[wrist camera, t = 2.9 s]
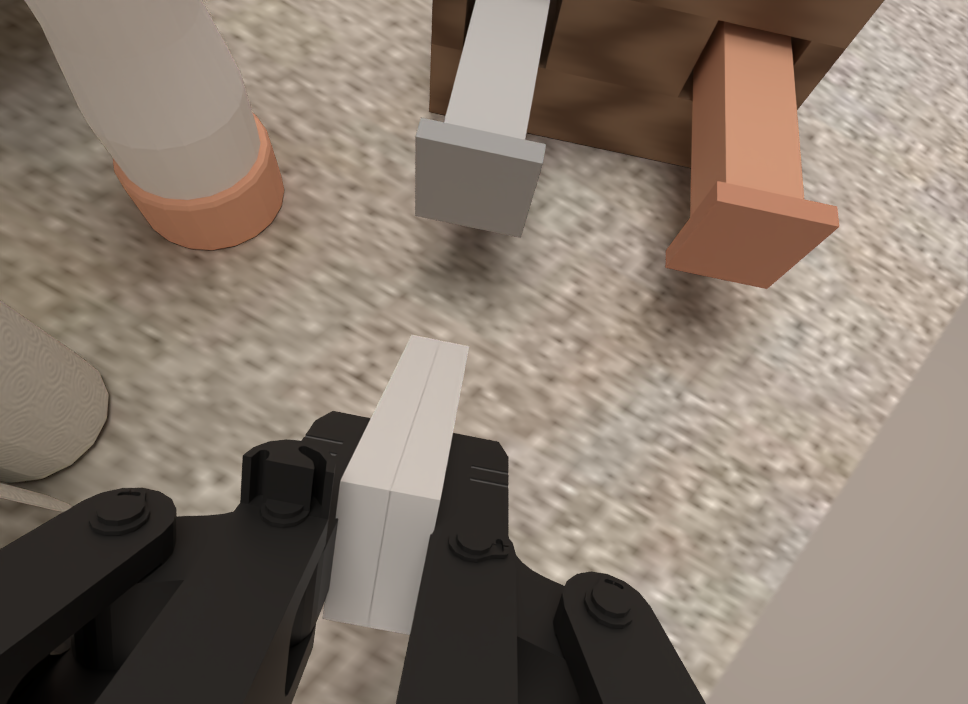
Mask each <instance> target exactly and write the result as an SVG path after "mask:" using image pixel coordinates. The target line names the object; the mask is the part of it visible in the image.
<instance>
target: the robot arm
mask: <svg viewBox="0 0 968 704" xmlns="http://www.w3.org/2000/svg"><path fill="white" fill-rule="evenodd" d="M468 350H469V346H465V345H461V344H456V343H451V342H446V341H441V340H436V339H431V338H426V337H421V336H416V335H411V337H410V339H409V341H408V343H407V345H406V347H405V349H404V351H403V353H402V356H401V358H400V360H399V362H398V364H397V366H396V368H395V370H394V372H393V374H392V376H391V378H390V380H389V382H388V384H387V386H386V388H385V390H384V392H383V394H382V397H381V399H380V401H379V403H378V405H377V407H376V409H375V411H374V413H373V415H372V417H371V418H366V417H361V416H356V415H351V414H346V413H341V412H336V411H332V412H330V413H328V414H326V415H325V416H323V417H321V418H319V419H317V420H316V421H315V422H314V423H313V425H312V426H311V428H310V429H309V430H308V432H307V433H306V436H305V437H304V438H303V439H302V441H297V440H279V441H270V442H267V443H264V444H261V445H258V446H255V447H253V448H252V449H251V450H249V451H248V452H247V453H245V454H244V455H243V463H242V481H241V500H240V504H239V505H238V507H237V508H236V509H235V511H234V512H230V513H226V514H218V515H208V516H178V517H176V507H175V505H174V503H173V501H172V499H171V498H169V497H168V496H166V495H164V494H163V493H161V492H159V491H155V490H150V489H146V488H121V489H117V490H112V491H107V492H103V493H100V494H97V495H95V496H93V497H91V498H88V499H86V500H84V501H82V502H80V503H78V504H76V505H75V506H73V507H71V508H70V509H68V510H66V511H65V512H63V513H61V514H59V515H58V516H56V517H54V518H53V519H51V520H49V521H48V522H46V523H44V524H42V525H41V526H39V527H37V528H36V529H34V530H32V531H31V532H29V533H27V534H26V535H24V536H22V537H20V538H19V539H17V540H15V541H14V542H12V543H10V544H9V545H7V546H5V547H3V548H2V549H0V704H292V701H293V698H294V696H295V693H296V690H297V688H298V685H299V683H300V680H301V677H302V675H303V672H304V669H305V667H306V664H307V661H308V659H309V656H310V654H311V651H312V648H313V642H314V635H315V627H316V622H317V619H318V617H319V614H320V612H321V609H322V607H323V604H324V601H325V604H324V612H323V619H326V620H332V621H337V622H342V623H348V624H353V625H359V626H364V627H369V628H375V629H380V630H386V631H391V632H396V633H402V634H407V635H410V637H409V642H408V647H407V652H406V656H405V661H404V666H403V671H402V676H401V681H400V686H399V691H398V695H397V701H396V704H706V703H705V701H704V700H703V698H702V696H701V694H700V693H699V691H698V689H697V687H696V686H695V684H694V682H693V680H692V679H691V677H690V675H689V673H688V672H687V670H686V668H685V666H684V665H683V663H682V661H681V659H680V658H679V656H678V654H677V652H676V650H675V649H674V647H673V645H672V643H671V642H670V640H669V638H668V636H667V635H666V633H665V631H664V629H663V628H662V626H661V624H660V622H659V621H658V619H657V617H656V615H655V614H654V612H653V610H652V608H651V607H650V605H649V604H648V603H647V602H646V600H645V599H644V598H643V597H642V595H641V594H640V593H639V592H638V591H637V590H635V589H634V588H633V587H631V586H630V585H629V584H627V583H626V582H624V581H622V580H620V579H618V578H615V577H613V576H611V575H608V574H603V573H597V572H586V573H580V574H576V575H575V576H573V577H572V578H570V579H569V580H568V581H567V582H566V584H565V586H563V585H561V584H559V583H557V582H554V581H552V580H550V579H548V578H545V577H543V576H542V575H540V574H538V573H536V572H534V571H533V570H531V569H530V568H529V567H527V566H526V565H525V564H524V563H522V562H521V560H520V559H519V558H518V557H517V556H516V553H515V550H514V546H513V543H512V542H511V540H510V539H509V536H508V456H507V454H506V452H505V451H504V449H503V448H502V446H501V445H500V443H499V442H497V441H492V440H486V439H481V438H476V437H471V436H466V435H461V434H456V433H453V430H454V424H455V419H456V414H457V408H458V403H459V398H460V392H461V387H462V382H463V376H464V371H465V366H466V360H467V355H468Z"/></svg>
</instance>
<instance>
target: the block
mask: <svg viewBox="0 0 968 704" xmlns="http://www.w3.org/2000/svg"><path fill="white" fill-rule="evenodd" d="M883 1H884V0H550V4H549V9H548V15H547V20H546V26H545V32H544V37H543V43H542V48H541V54H540V59H539V65H538V71H537V76H536V82H535V87H534V93H533V99H532V104H531V110H530V115H529V121H528V126H527V132H526V133H531V134H536V135H540V136H545V137H549V138H554V139H559V140H563V141H568V142H573V143H577V144H582V145H587V146H591V147H596V148H601V149H605V150H610V151H615V152H619V153H624V154H629V155H633V156H638V157H643V158H647V159H652V160H657V161H661V162H666V163H671V164H675V165H680V166H685V167H689V168H691V154H692V106H693V67H694V65H695V64H696V62H697V60H698V58H699V56H700V54H701V52H702V50H703V49H704V47H705V45H706V43H707V41H708V39H709V37H710V35H711V34H712V32H713V30H714V28H715V26H716V24H717V22H718V20H720V21H725V22H729V23H734V24H738V25H743V26H747V27H751V28H756V29H760V30H765V31H769V32H774V33H778V34H783V35H787V36H791V44H792V56H793V68H794V81H795V93H796V105H797V110H798V108H799V107H800V106H801V105H802V103H803V102H804V101H805V100H806V98H807V97H808V96H809V94H810V93H811V92H812V91H813V89H814V88H815V87H816V86H817V84H818V83H819V82H820V81H821V79H822V78H823V77H824V76H825V74H826V73H827V72H828V71H829V69H830V68H831V67H832V66H833V64H834V63H835V62H836V61H837V59H838V58H839V57H840V55H841V54H842V53H843V52H844V50H845V49H846V48H847V47H848V45H849V44H850V43H851V42H852V40H853V39H854V38H855V37H856V35H857V34H858V33H859V32H860V30H861V29H862V28H863V27H864V25H865V24H866V23H867V21H868V20H869V19H870V18H871V16H872V15H873V14H874V13H875V11H876V10H877V9H878V8H879V6H880V5H881V4H882V3H883ZM475 2H476V0H433V6H432V38H431V71H430V103H429V112H433V113H438V114H442V115H446V113H447V109H448V105H449V101H450V98H451V94H452V90H453V86H454V82H455V78H456V75H457V71H458V67H459V63H460V59H461V55H462V52H463V48H464V44H465V40H466V36H467V32H468V28H469V25H470V21H471V17H472V13H473V9H474V5H475Z"/></svg>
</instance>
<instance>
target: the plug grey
mask: <svg viewBox="0 0 968 704" xmlns="http://www.w3.org/2000/svg"><path fill="white" fill-rule="evenodd" d="M549 4H550V0H476V2H475V5H474V9H473V13H472V17H471V21H470V25H469V28H468V32H467V36H466V40H465V44H464V48H463V52H462V55H461V59H460V63H459V67H458V71H457V75H456V78H455V82H454V86H453V90H452V94H451V98H450V101H449V105H448V109H447V113H446V117H445V121H444V122H440V121H435V120H431V119H426V118H421V119H420V123H419V126H418V130H417V133H416V159H415V216H418V217H423V218H428V219H433V220H438V221H442V222H447V223H452V224H457V225H462V226H466V227H471V228H476V229H481V230H486V231H491V232H495V233H500V234H505V235H510V236H515V237H519V238H521V235H522V231H523V228H524V225H525V221H526V218H527V215H528V211H529V208H530V205H531V201H532V198H533V195H534V191H535V188H536V185H537V181H538V178H539V175H540V171H541V168H542V165H543V159H544V153H545V147H546V144H543V143H538V142H533V141H529V140H525V138H526V132H527V126H528V121H529V115H530V110H531V104H532V99H533V93H534V87H535V82H536V76H537V71H538V65H539V59H540V54H541V48H542V43H543V37H544V32H545V26H546V20H547V15H548V9H549Z"/></svg>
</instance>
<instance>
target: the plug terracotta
mask: <svg viewBox="0 0 968 704" xmlns="http://www.w3.org/2000/svg"><path fill="white" fill-rule="evenodd" d="M838 227H839V219H838V210H837V206H832V205H827V204H823V203H818V202H813V201H809V200H804V191H803V179H802V166H801V154H800V142H799V130H798V117H797V105H796V93H795V81H794V68H793V56H792V44H791V36H787V35H783V34H778V33H774V32H769V31H765V30H760V29H756V28H751V27H747V26H743V25H738V24H734V23H729V22H725V21H720V20H718V22H717V24H716V26H715V28H714V30H713V32H712V34H711V35H710V37H709V39H708V41H707V43H706V45H705V47H704V49H703V50H702V52H701V54H700V56H699V58H698V60H697V62H696V64H695V65H694V67H693V106H692V154H691V202H690V218H689V220H688V221H687V223H686V224H685V225H684V227H683V228H682V229H681V231H680V232H679V233H678V235H677V236H676V237H675V239H674V240H673V242H672V243H671V244H670V246H669V247H668V248H667V250H666V265H665V268H669V269H674V270H679V271H683V272H688V273H693V274H698V275H703V276H707V277H712V278H717V279H722V280H727V281H732V282H736V283H741V284H746V285H751V286H756V287H761V288H765V289H767V288H769V287H770V286H771V285H772V284H773V283H774V282H776V281H777V280H778V279H779V278H780V277H781V276H783V275H784V274H785V273H786V272H787V271H788V270H790V269H791V268H792V267H793V266H794V265H795V264H797V263H798V262H799V261H800V260H801V259H802V258H804V257H805V256H806V255H807V254H808V253H809V252H811V251H812V250H813V249H814V248H815V247H816V246H818V245H819V244H820V243H821V242H822V241H823V240H824V239H826V238H827V237H828V236H829V235H830V234H831V233H833V232H834V231H835V230H836V229H837V228H838Z"/></svg>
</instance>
